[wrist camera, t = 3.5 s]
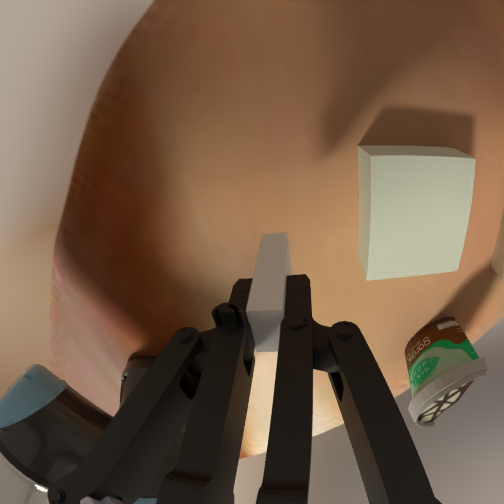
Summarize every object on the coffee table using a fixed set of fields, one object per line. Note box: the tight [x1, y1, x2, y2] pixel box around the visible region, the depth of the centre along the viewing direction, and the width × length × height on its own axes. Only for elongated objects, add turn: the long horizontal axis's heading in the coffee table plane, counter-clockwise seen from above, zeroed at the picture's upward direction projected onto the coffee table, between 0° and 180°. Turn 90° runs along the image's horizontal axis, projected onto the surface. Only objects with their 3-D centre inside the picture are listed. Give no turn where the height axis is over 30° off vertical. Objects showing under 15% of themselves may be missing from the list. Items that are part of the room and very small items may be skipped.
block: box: [358, 145, 476, 281], centre depth 20 cm, size 9×10×4 cm
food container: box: [405, 317, 488, 427], centre depth 25 cm, size 12×6×10 cm, turn 176°
